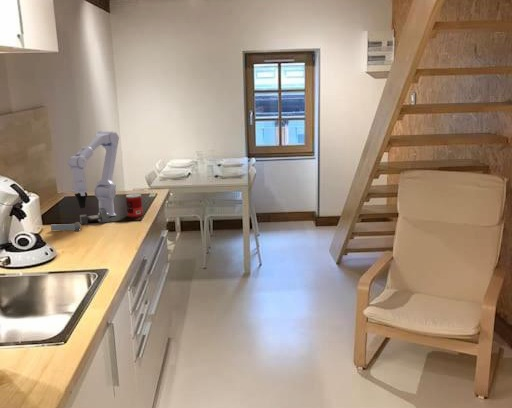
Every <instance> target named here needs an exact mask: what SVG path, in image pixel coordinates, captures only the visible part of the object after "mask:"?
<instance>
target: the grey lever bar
mask: <svg viewBox="0 0 512 408" xmlns="http://www.w3.org/2000/svg"><path fill="white" fill-rule="evenodd" d="M50 229H51V231H52V232H54V231H74V230H80V229H81V223H80V221H76V222H74V223H61V224H60V223H59V224H57V223H56V224H55V223H54V224H50Z"/></svg>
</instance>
